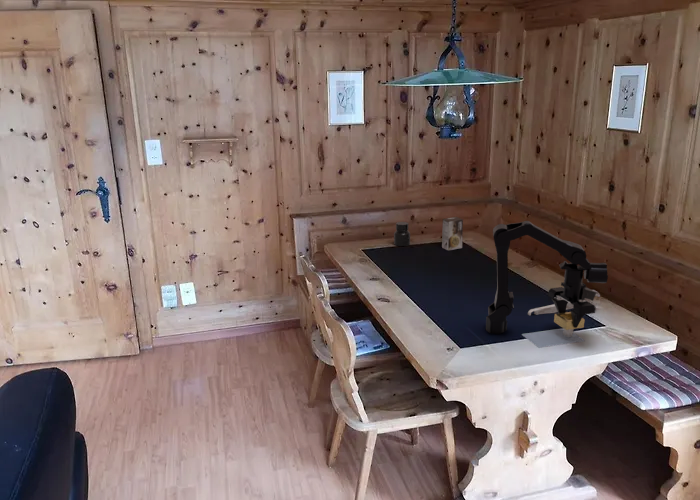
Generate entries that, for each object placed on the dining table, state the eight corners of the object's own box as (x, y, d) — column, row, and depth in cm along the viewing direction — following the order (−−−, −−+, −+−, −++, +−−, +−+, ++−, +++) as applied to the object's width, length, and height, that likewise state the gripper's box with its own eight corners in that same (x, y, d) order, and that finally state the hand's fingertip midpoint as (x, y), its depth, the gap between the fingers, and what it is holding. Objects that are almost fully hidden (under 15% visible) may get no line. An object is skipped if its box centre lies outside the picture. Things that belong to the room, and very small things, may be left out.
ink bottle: (411, 242, 318) (412, 221, 315) (409, 247, 310) (410, 225, 306) (394, 241, 320) (394, 221, 317) (392, 246, 312) (392, 224, 309)
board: (538, 350, 192) (539, 336, 190) (521, 336, 202) (522, 323, 200) (584, 343, 196) (586, 330, 194) (565, 330, 206) (566, 317, 205)
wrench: (527, 323, 220) (597, 306, 225) (530, 325, 218) (600, 308, 223) (527, 304, 217) (597, 288, 222) (529, 306, 216) (600, 289, 221)
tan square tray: (566, 329, 195) (566, 321, 194) (553, 321, 201) (554, 314, 200) (583, 327, 196) (584, 319, 196) (571, 319, 203) (571, 311, 202)
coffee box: (455, 245, 311) (456, 216, 307) (462, 248, 306) (463, 219, 301) (441, 247, 308) (442, 218, 303) (448, 250, 302) (449, 221, 297)
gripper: (612, 287, 187) (606, 331, 192) (576, 270, 205) (572, 310, 209) (582, 291, 185) (577, 335, 189) (549, 273, 202) (545, 314, 207)
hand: (568, 323), depth 199 cm, fingers closed on tan square tray, 7 cm apart
